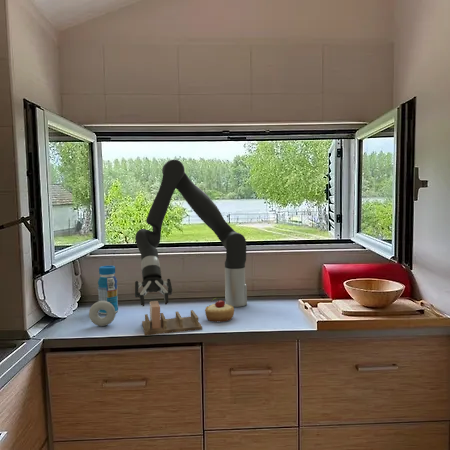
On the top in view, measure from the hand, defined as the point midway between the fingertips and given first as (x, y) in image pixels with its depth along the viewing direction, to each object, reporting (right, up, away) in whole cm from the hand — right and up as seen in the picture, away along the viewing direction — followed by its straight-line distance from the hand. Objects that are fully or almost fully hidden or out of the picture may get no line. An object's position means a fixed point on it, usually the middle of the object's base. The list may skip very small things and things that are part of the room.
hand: (155, 304), depth 157 cm
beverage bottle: (-24, -8, +23) cm, 34 cm away
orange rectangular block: (0, -8, 0) cm, 8 cm away
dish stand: (+6, -9, +1) cm, 11 cm away
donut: (-21, -9, +3) cm, 23 cm away
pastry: (+25, -8, +9) cm, 27 cm away
